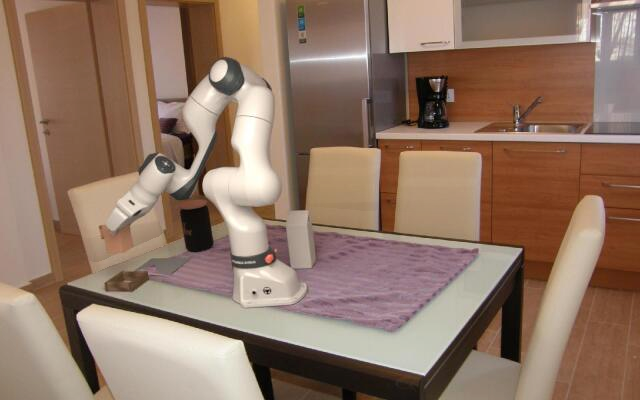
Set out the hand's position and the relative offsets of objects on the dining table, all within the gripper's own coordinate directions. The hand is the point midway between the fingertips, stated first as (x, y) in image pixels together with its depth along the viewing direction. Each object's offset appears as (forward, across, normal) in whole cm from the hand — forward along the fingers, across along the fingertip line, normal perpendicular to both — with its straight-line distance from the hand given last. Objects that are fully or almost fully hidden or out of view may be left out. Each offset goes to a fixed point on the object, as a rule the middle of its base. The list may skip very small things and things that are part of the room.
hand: (118, 230), depth 187 cm
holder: (+14, 0, +13) cm, 19 cm away
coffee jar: (+8, -36, +20) cm, 42 cm away
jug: (+6, 0, +3) cm, 7 cm away
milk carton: (-25, -18, +53) cm, 61 cm away
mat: (+12, -16, +15) cm, 25 cm away
